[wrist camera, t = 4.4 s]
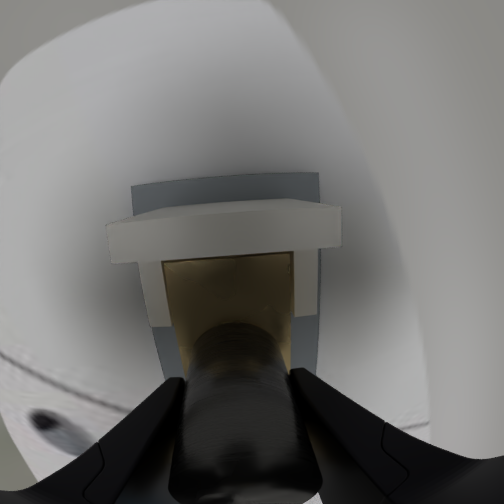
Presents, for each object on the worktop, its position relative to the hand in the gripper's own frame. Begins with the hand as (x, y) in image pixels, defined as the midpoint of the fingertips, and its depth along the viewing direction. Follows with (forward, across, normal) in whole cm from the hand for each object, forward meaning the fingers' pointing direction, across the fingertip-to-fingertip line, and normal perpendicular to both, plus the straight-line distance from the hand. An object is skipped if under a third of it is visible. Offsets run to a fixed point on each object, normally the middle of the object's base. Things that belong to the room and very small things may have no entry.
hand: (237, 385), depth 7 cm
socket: (+8, 0, -3) cm, 8 cm away
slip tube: (+5, 0, +3) cm, 6 cm away
